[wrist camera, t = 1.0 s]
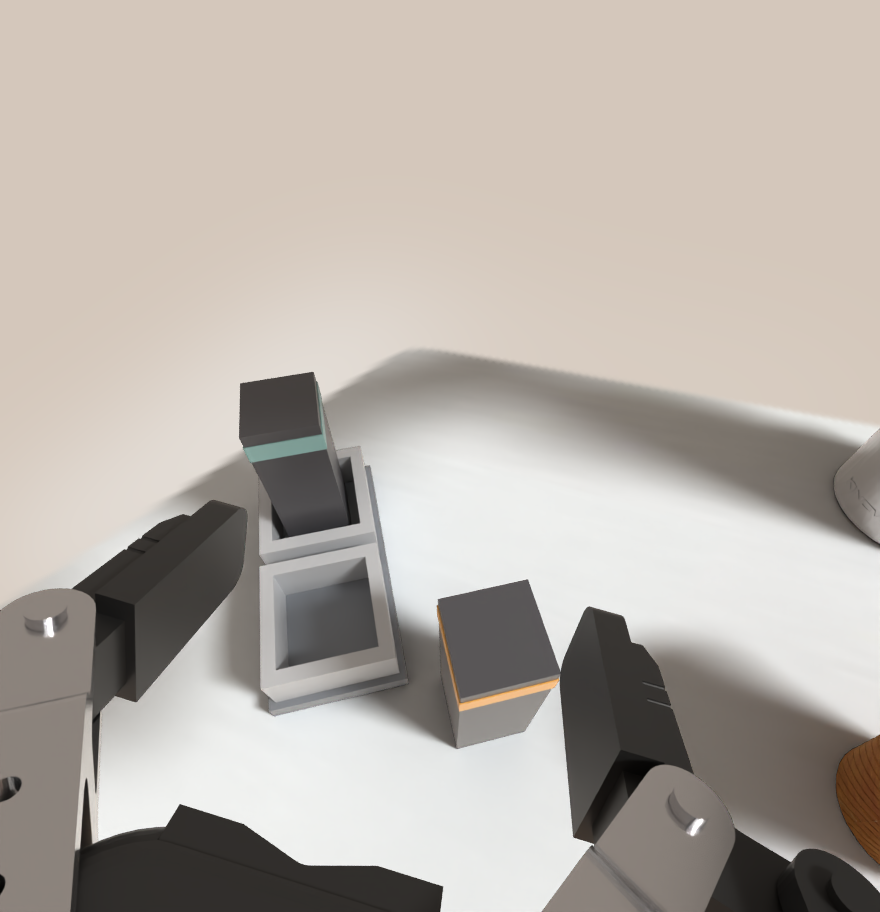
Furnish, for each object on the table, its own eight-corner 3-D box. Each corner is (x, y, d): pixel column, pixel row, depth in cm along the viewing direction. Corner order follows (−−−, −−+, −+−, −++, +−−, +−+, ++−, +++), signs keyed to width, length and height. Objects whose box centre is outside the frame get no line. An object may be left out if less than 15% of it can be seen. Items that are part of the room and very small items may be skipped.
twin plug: (347, 490, 38) (314, 371, 29) (354, 538, 36) (320, 424, 26) (292, 501, 38) (239, 383, 28) (294, 550, 35) (238, 438, 26)
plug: (504, 659, 32) (528, 577, 22) (525, 732, 29) (562, 674, 20) (440, 675, 31) (436, 598, 22) (455, 750, 29) (460, 700, 19)
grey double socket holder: (371, 474, 41) (364, 440, 37) (408, 683, 31) (404, 663, 28) (269, 493, 40) (252, 460, 36) (274, 716, 30) (252, 699, 27)
